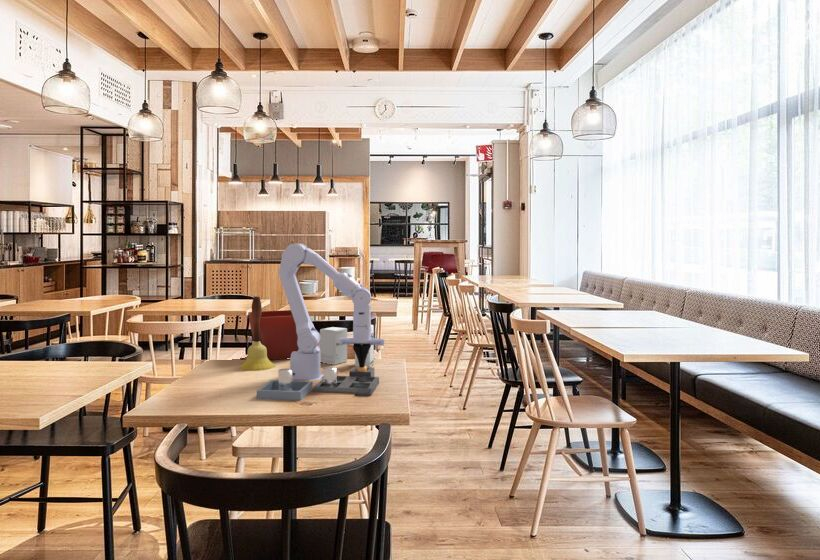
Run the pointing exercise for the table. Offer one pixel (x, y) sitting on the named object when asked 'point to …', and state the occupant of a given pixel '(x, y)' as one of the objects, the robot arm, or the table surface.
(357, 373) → the button housing
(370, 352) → the syrup box
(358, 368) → the button
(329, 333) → the supplement box
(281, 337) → the plant pot
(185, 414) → the table surface
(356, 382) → the frame
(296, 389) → the tote
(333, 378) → the cylinder
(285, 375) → the billet
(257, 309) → the handbell
